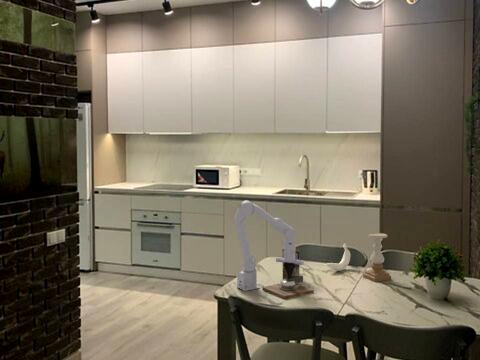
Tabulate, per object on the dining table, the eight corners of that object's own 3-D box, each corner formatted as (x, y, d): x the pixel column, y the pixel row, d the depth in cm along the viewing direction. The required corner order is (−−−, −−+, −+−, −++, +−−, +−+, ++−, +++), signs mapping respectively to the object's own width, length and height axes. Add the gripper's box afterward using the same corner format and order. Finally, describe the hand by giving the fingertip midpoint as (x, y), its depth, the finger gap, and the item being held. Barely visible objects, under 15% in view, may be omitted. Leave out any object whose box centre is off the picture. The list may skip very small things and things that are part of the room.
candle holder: (391, 279, 277) (392, 235, 275) (374, 282, 273) (375, 237, 271) (379, 274, 287) (379, 232, 285) (362, 276, 283) (362, 233, 281)
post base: (285, 299, 245) (285, 294, 245) (262, 290, 260) (262, 285, 260) (313, 292, 255) (313, 288, 255) (290, 284, 270) (290, 279, 270)
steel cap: (286, 289, 253) (286, 281, 252) (277, 285, 258) (277, 277, 258) (306, 284, 260) (306, 277, 259) (297, 281, 265) (297, 273, 265)
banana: (326, 272, 292) (326, 247, 291) (345, 266, 306) (345, 242, 304) (333, 274, 289) (333, 248, 287) (352, 268, 302) (352, 243, 301)
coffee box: (299, 277, 282) (299, 248, 281) (299, 281, 276) (299, 251, 274) (282, 277, 283) (282, 248, 282) (282, 280, 276) (282, 250, 275)
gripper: (306, 250, 262) (306, 277, 263) (280, 247, 270) (280, 273, 271) (300, 253, 256) (300, 280, 257) (274, 250, 264) (274, 276, 265)
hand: (289, 277), depth 264 cm, fingers closed
